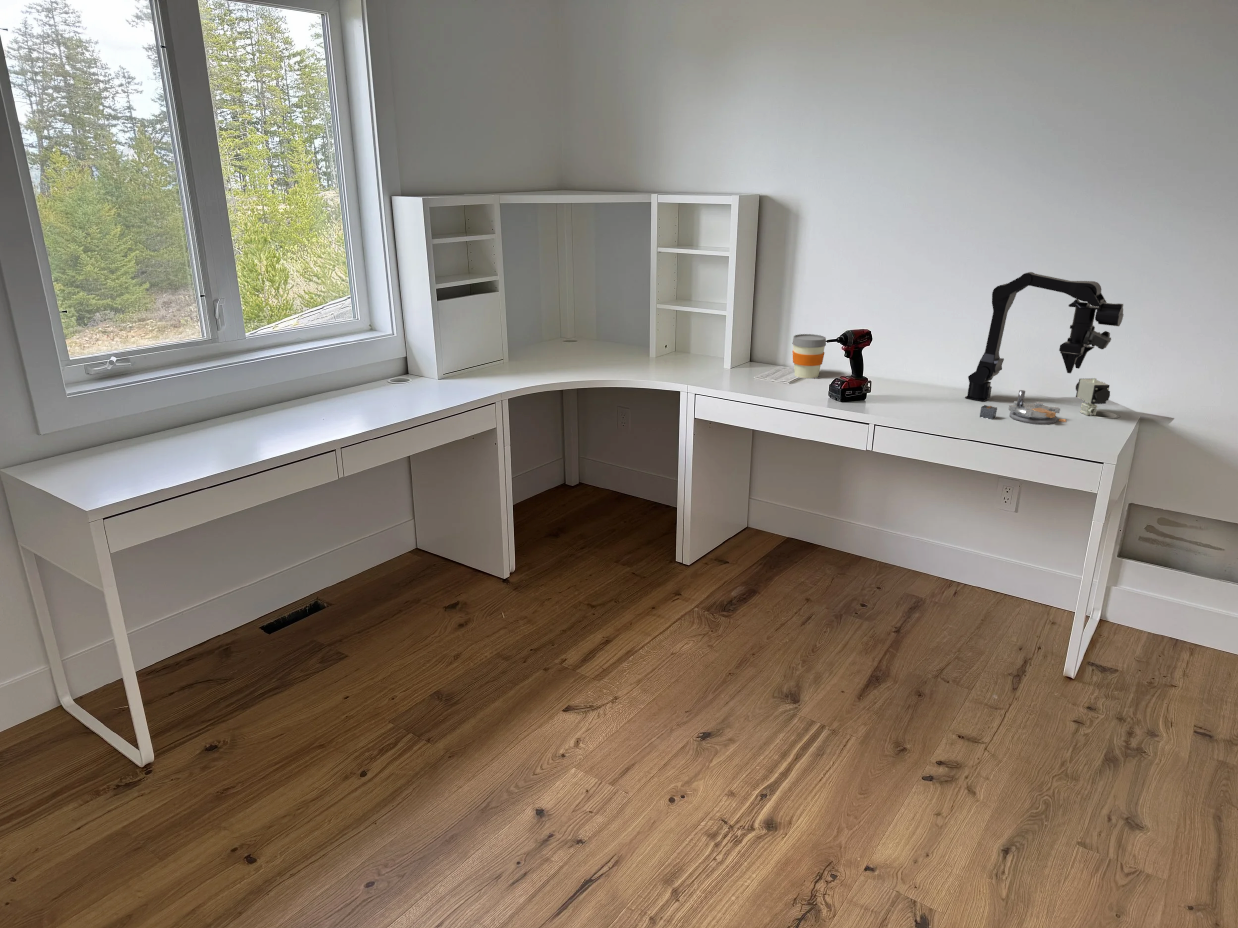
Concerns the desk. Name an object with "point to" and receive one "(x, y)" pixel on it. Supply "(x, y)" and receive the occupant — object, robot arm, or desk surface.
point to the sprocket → (1032, 409)
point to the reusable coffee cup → (808, 354)
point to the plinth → (1034, 421)
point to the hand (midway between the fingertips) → (1073, 370)
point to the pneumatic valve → (1092, 394)
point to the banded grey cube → (988, 412)
